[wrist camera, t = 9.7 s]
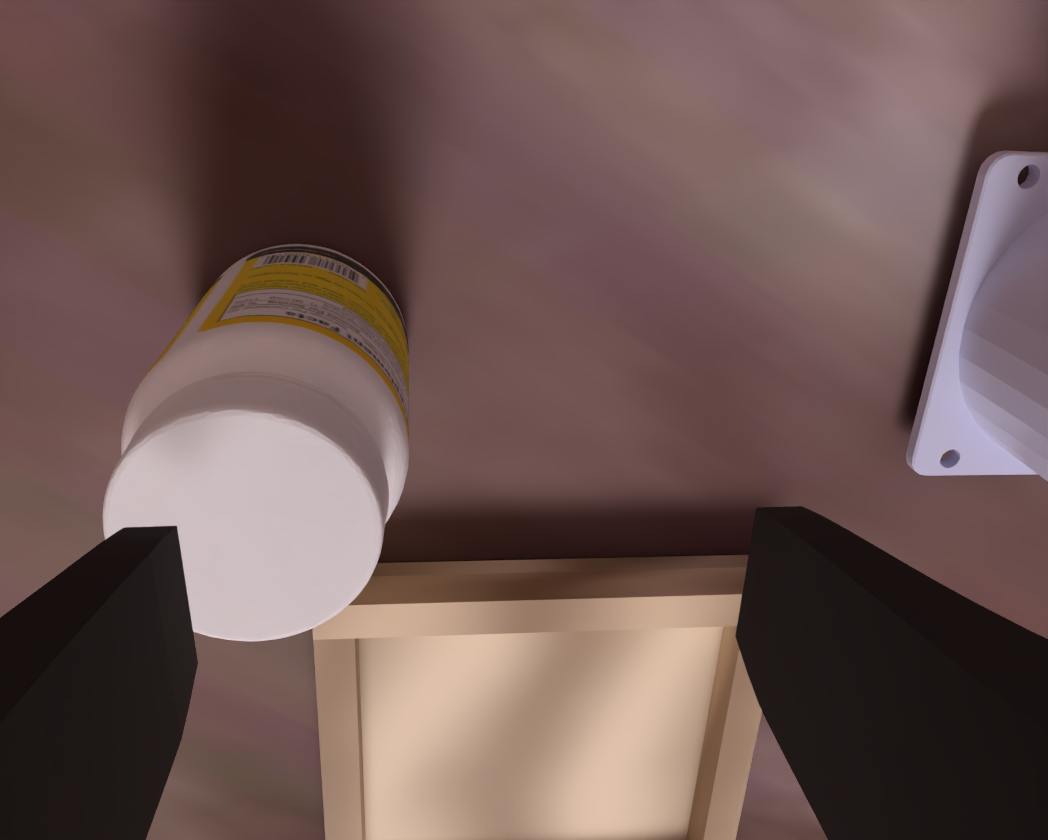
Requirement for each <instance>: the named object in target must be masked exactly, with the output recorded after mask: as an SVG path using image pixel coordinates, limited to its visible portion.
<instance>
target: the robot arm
mask: <svg viewBox="0 0 1048 840" xmlns="http://www.w3.org/2000/svg"><path fill="white" fill-rule="evenodd" d="M1025 166H1028V167H1029V175H1028V177H1027V179H1026V180H1025V181H1024V182H1023V183H1022V184H1021V185H1019V184H1018V175H1019V173H1020V171H1021V170H1022V169H1023V168H1024V167H1025ZM948 450H951V453H950V455H949V457H947V458H946V459H945V460H942V461H940V459H941V457H942V455H943V454H944V453H945V452H946V451H948ZM906 461H907V463H908V465H909V466H910V467H911V468H912V469H913V470H914V471H916V472H917V473H918V474H921V475H1017V474H1039V475H1040V476H1041V477H1043V478H1044V479H1045V480H1047V481H1048V152H1030V151H999V152H995V153H994V154H992V155H990V156H989V157H987V159H986V160H985V161H984V162H983V163H982V165H981V167H980V169H979V171H978V174H977V178H976V182H975V186H974V190H973V194H972V198H971V202H970V206H969V209H968V213H967V217H966V221H965V225H964V229H963V233H962V237H961V241H960V245H959V249H958V253H957V256H956V260H955V264H954V268H953V272H952V276H951V280H950V284H949V288H948V292H947V296H946V300H945V303H944V307H943V311H942V315H941V319H940V323H939V327H938V331H937V335H936V339H935V343H934V347H933V350H932V354H931V358H930V362H929V366H928V370H927V374H926V378H925V382H924V386H923V390H922V393H921V397H920V401H919V405H918V409H917V413H916V417H915V421H914V425H913V429H912V433H911V437H910V440H909V444H908V448H907V452H906ZM735 637H736V640H737V643H738V646H739V649H740V652H741V655H742V658H743V661H744V664H745V667H746V670H747V673H748V676H749V679H750V682H751V684H752V687H753V690H754V692H755V695H756V698H757V701H758V703H759V706H760V708H761V710H762V712H763V714H764V716H765V718H766V720H767V722H768V724H769V726H770V728H771V730H772V732H773V734H774V736H775V738H776V740H777V742H778V744H779V746H780V748H781V750H782V752H783V754H784V755H785V757H786V759H787V761H788V763H789V765H790V767H791V769H792V771H793V773H794V775H795V777H796V779H797V781H798V783H799V784H800V786H801V788H802V790H803V792H804V794H805V796H806V798H807V800H808V802H809V804H810V806H811V808H812V809H813V811H814V813H815V815H816V817H817V819H818V821H819V823H820V825H821V827H822V829H823V831H824V833H825V835H826V836H827V838H828V840H1048V639H1046V638H1044V637H1042V636H1040V635H1038V634H1036V633H1033V632H1031V631H1029V630H1027V629H1025V628H1023V627H1021V626H1020V625H1018V624H1016V623H1014V622H1012V621H1010V620H1008V619H1006V618H1004V617H1002V616H1000V615H998V614H996V613H994V612H992V611H990V610H988V609H986V608H985V607H983V606H981V605H979V604H977V603H975V602H973V601H971V600H969V599H968V598H966V597H964V596H962V595H960V594H958V593H957V592H955V591H953V590H951V589H949V588H947V587H946V586H944V585H942V584H940V583H939V582H937V581H935V580H933V579H931V578H930V577H928V576H926V575H924V574H923V573H921V572H919V571H917V570H916V569H914V568H912V567H910V566H909V565H907V564H905V563H904V562H902V561H900V560H898V559H897V558H895V557H893V556H892V555H890V554H888V553H886V552H885V551H883V550H881V549H880V548H878V547H876V546H874V545H873V544H871V543H869V542H868V541H866V540H864V539H862V538H861V537H859V536H857V535H856V534H854V533H852V532H850V531H849V530H847V529H845V528H843V527H841V526H840V525H838V524H836V523H834V522H832V521H831V520H829V519H827V518H825V517H823V516H821V515H819V514H817V513H815V512H813V511H811V510H809V509H806V508H804V507H802V506H797V507H765V508H756V513H755V519H754V525H753V531H752V537H751V544H750V550H749V556H748V562H747V568H746V574H745V580H744V586H743V592H742V598H741V605H740V611H739V617H738V623H737V629H736V635H735ZM197 664H198V661H197V654H196V648H195V641H194V635H193V628H192V622H191V615H190V608H189V602H188V595H187V589H186V582H185V576H184V569H183V562H182V556H181V549H180V543H179V536H178V530H177V526H154V527H124V528H122V529H121V530H119V531H118V532H116V533H114V534H113V535H111V536H110V537H108V538H107V539H106V540H104V541H103V542H101V543H100V544H99V545H97V546H96V547H95V548H93V549H92V550H91V551H89V552H88V553H86V554H85V555H84V556H82V557H81V558H80V559H79V560H77V561H76V562H75V563H73V564H72V565H71V566H69V567H68V568H67V569H65V570H64V571H63V572H61V573H60V574H59V575H57V576H56V577H55V578H53V579H52V580H51V581H49V582H48V583H47V584H45V585H44V586H43V587H41V588H40V589H39V590H37V591H36V592H34V593H33V594H32V595H30V596H29V597H28V598H26V599H25V600H24V601H22V602H21V603H20V604H18V605H17V606H16V607H14V608H13V609H12V610H10V611H9V612H7V613H6V614H5V615H3V616H2V617H1V618H0V840H146V837H147V834H148V831H149V829H150V826H151V823H152V820H153V818H154V815H155V812H156V809H157V807H158V804H159V801H160V798H161V796H162V793H163V790H164V787H165V784H166V781H167V779H168V776H169V773H170V770H171V767H172V765H173V762H174V759H175V756H176V753H177V750H178V747H179V744H180V742H181V739H182V734H183V730H184V726H185V721H186V717H187V712H188V708H189V704H190V699H191V694H192V689H193V684H194V679H195V674H196V669H197Z"/></svg>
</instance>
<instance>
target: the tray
mask: <svg viewBox="0 0 1048 840" xmlns="http://www.w3.org/2000/svg"><path fill="white" fill-rule="evenodd" d="M748 556H749V555H717V556H673V557H628V558H583V559H538V560H493V561H448V562H404V563H377V565H376V567H375V569H374V571H373V573H372V576H371V578H370V579H369V581H368V583H367V584H366V586H365V587H364V588H363V590H362V591H361V592H360V593H359V595H358V596H357V597H356V598H355V599H354V600H353V601H352V602H351V603H350V604H349V605H348V606H347V607H345V608H344V609H343V610H342V611H341V612H340V613H338V614H337V615H335V616H334V617H332V618H331V619H329V620H327V621H326V622H324V623H322V624H320V625H318V626H316V627H315V628H313V644H314V660H315V676H316V692H317V709H318V725H319V741H320V757H321V774H322V790H323V806H324V822H325V839H326V840H735V839H736V834H737V829H738V824H739V820H740V815H741V810H742V805H743V800H744V796H745V791H746V786H747V781H748V776H749V771H750V767H751V762H752V757H753V752H754V747H755V743H756V738H757V733H758V728H759V723H760V719H761V714H762V710H761V708H760V706H759V703H758V701H757V698H756V695H755V692H754V690H753V687H752V684H751V682H750V679H749V676H748V673H747V670H746V667H745V664H744V661H743V658H742V655H741V652H740V649H739V646H738V643H737V640H736V637H735V635H736V629H737V623H738V617H739V611H740V605H741V598H742V592H743V586H744V580H745V574H746V568H747V562H748Z"/></svg>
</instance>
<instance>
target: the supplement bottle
mask: <svg viewBox="0 0 1048 840" xmlns="http://www.w3.org/2000/svg"><path fill="white" fill-rule="evenodd" d="M121 454H122V456H121V458H120V460H119V461H118V463H117V465H116V466H115V469H114V471H113V473H112V475H111V478H110V480H109V482H108V486H107V489H106V493H105V498H104V504H103V530H104V536H105V540H106V539H107V538H108V537H110V536H111V535H113V534H114V533H116V532H118V531H119V530H121V529H122V528H124V527H154V526H177V530H178V536H179V543H180V549H181V556H182V562H183V569H184V576H185V582H186V589H187V595H188V602H189V608H190V615H191V622H192V628H193V631H194V632H197V633H200V634H203V635H207V636H210V637H216V638H222V639H227V640H238V641H266V640H273V639H279V638H284V637H288V636H292V635H295V634H298V633H301V632H304V631H307V630H309V629H312V628H315V627H316V626H318V625H320V624H322V623H324V622H326V621H327V620H329V619H331V618H332V617H334V616H335V615H337V614H338V613H340V612H341V611H342V610H343V609H344V608H345V607H347V606H348V605H349V604H350V603H351V602H352V601H353V600H354V599H355V598H356V597H357V596H358V595H359V593H360V592H361V591H362V590H363V588H364V587H365V586H366V584H367V583H368V581H369V579H370V578H371V576H372V573H373V571H374V569H375V567H376V565H377V562H378V559H379V556H380V553H381V548H382V543H383V536H384V529H385V524H386V522H387V521H388V519H389V518H390V516H391V514H392V512H393V511H394V509H395V507H396V505H397V503H398V501H399V499H400V496H401V494H402V491H403V487H404V483H405V480H406V475H407V471H408V464H409V359H408V340H407V332H406V327H405V323H404V320H403V317H402V314H401V311H400V309H399V307H398V305H397V303H396V301H395V300H394V298H393V296H392V295H391V293H390V292H389V291H388V289H387V288H386V286H385V285H384V284H383V283H382V282H381V281H380V280H379V279H378V278H377V277H376V276H375V275H374V274H373V273H372V272H371V271H370V270H369V269H367V268H366V267H364V266H363V265H362V264H360V263H359V262H357V261H355V260H354V259H352V258H350V257H348V256H346V255H344V254H342V253H340V252H337V251H335V250H332V249H328V248H325V247H320V246H315V245H306V244H286V245H279V246H273V247H269V248H265V249H262V250H259V251H257V252H254V253H252V254H250V255H248V256H246V257H244V258H242V259H240V260H239V261H237V262H236V263H235V264H233V265H232V266H231V267H229V268H228V269H227V270H226V271H225V272H224V273H223V274H222V275H221V276H220V277H219V278H218V279H217V280H216V281H215V283H214V284H213V285H212V286H211V287H210V288H209V289H208V291H207V292H206V294H205V295H204V297H203V298H202V299H201V301H200V302H199V304H198V305H197V307H196V308H195V309H194V311H193V312H192V313H191V315H190V316H189V318H188V319H187V321H186V322H185V324H184V325H183V326H182V328H181V329H180V330H179V332H178V333H177V334H176V336H175V337H174V339H173V340H172V341H171V343H170V344H169V345H168V347H167V348H166V350H165V351H164V352H163V354H162V355H161V356H160V357H159V359H158V360H157V361H156V363H155V364H154V365H153V366H152V368H151V369H150V370H149V371H148V373H147V374H146V375H145V377H144V378H143V380H142V381H141V383H140V384H139V386H138V388H137V389H136V391H135V393H134V395H133V397H132V399H131V401H130V403H129V406H128V409H127V411H126V415H125V419H124V425H123V432H122V441H121Z"/></svg>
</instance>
